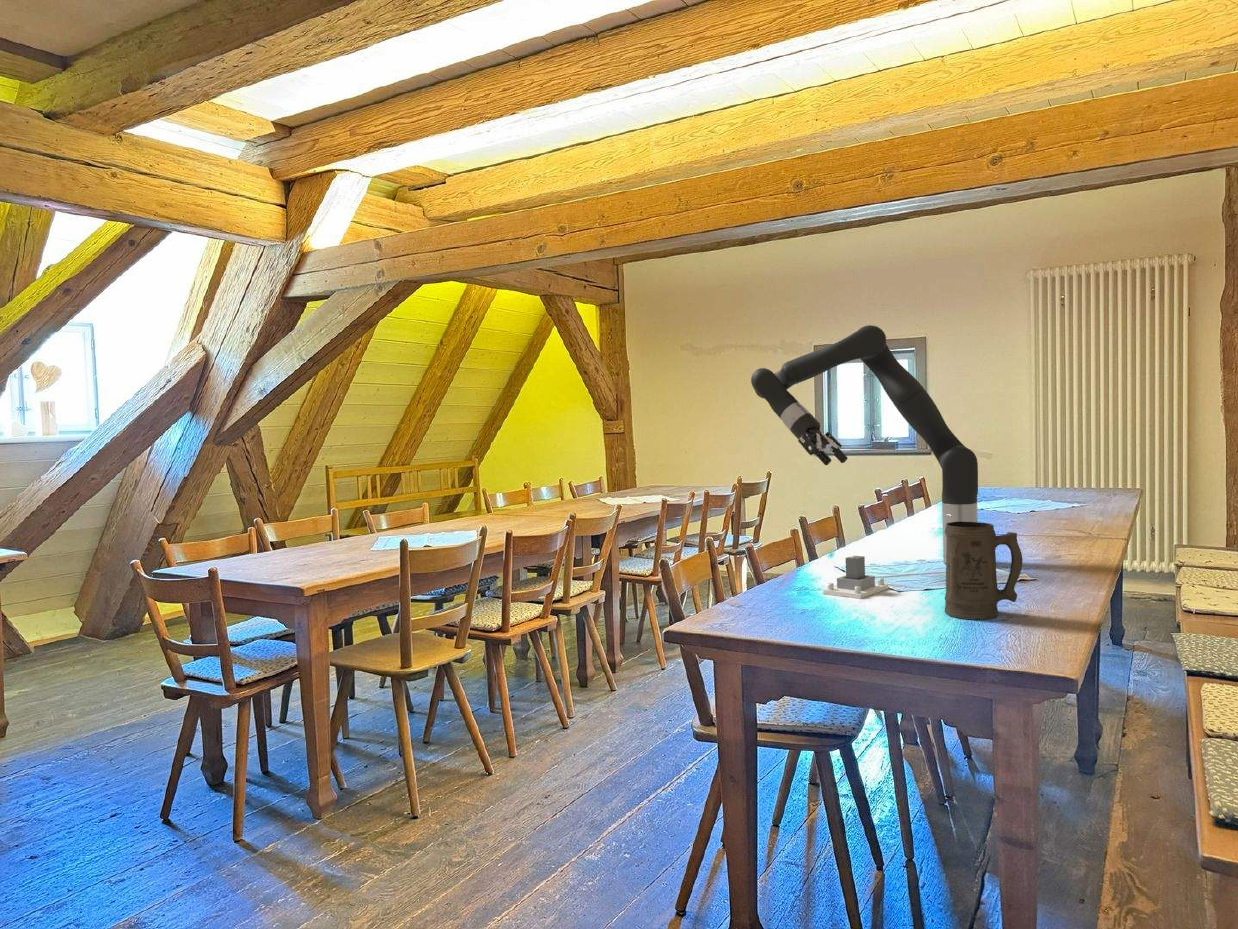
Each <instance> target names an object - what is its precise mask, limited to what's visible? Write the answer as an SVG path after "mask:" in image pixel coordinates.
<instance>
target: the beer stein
mask: <svg viewBox="0 0 1238 929" xmlns="http://www.w3.org/2000/svg"><path fill="white" fill-rule="evenodd" d="M945 534H946V537H947V542H946V564H945V595H944V600H945V602H944V603H945V605H944V613H945V615H948V616H950V617H953V618H957V619H961V620H973V619H980V620H989V619H991V620H992V619H995V618H997V617H998V615H999V610H998V603H999V602H1000V601H1003V600H1008V601H1010V602H1013V603H1015V602H1016V600H1017V598H1018V594H1017V592H1016V591H1015V587H1016V584H1017V581H1018V579H1020V578H1019V577H1020V575H1021V572H1022V570H1023V553H1022V550H1021V548H1020V545H1019V543H1018V533H1017V532H1011V531H1010V532H1009V531H1008V532H1006V534H1000V535H996V534H997V533H996V530H995V526H994V524H992V523H987V522H959V521H958V522H950V523H947V524H946V528H945ZM1000 545H1001V546H1003V545H1004V546H1007V548H1008V549H1009V550H1010V554H1011V555H1010V556H1011V558H1010V560H1011V562H1010V569H1009V575H1008V577H1007V581H1006V584H1005V586H1004V587H1003V589H999V588H998V579H997V578H998V577H997V556H996V549H997V547H998V546H1000Z"/></svg>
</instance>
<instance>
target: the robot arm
mask: <svg viewBox="0 0 1238 929" xmlns="http://www.w3.org/2000/svg"><path fill="white" fill-rule="evenodd" d="M859 359H860V360H861V361H862V362H863V363H864V365H866V367H867V368H868V369H869V370H870V371H871V372H872V374H873V375H874V376H875V377H876V378H877V380H878V381H879V383H880V385H881V386H882V389H883V391H884V392H885V393H886V395H887V397H889V399H890V401H891V402H892V404H893V405H894V407H895V408H896V410H897V411H898V412H899V413H900V415H901V416H902V418H903V419H905V421H906V422H907V424H908V425H909V426H910V427H911V428H912V429H913V430H914V432H916V433H917V435H919V437H921V438H922V439H923V440H924V442H925V443H926V444H927V446H928V447H929V449H930V450H931V452H932V453H933V455H934V457H935V459H936V461H937V462H938V464H939V466H940V468H941V474H942V476H941V477H942V478H941V479H942V483H941V484H942V488H941V489H942V490H941V491H942V492H941V516H942V517H941V519H942V556H943V557H942V558H943V563H944V564H945V563H946V542H947V537H946V534H945V528H946V524H947V523H950V522H958V521H959V522H978V516H979V515H978V494H979V466H978V458H977V456H976V454H975V452H974V451H973V450H972V449H970V448H968V447H967V446H965V445H964V443H962V442H961V441H960V440H959V439H958V437H957V436H956V435H955V434H954V432H952V430H951V429H950V428H949V426H948V425H947V423H946V422H945V419H944V417H943V415H942V412H940V410H939V408H938V406H937V405H936V403H935V401H934V400H933V398H932V397H931V396H930V394H929V393H928V391H927V390H926V389H925V387H924V386H923V385H922V384H921V382H919V381H918V379H917V378H916V377H914V375H912V374H911V373H910V372H909V371H908V370H907V369H906V368H905V367H904V366H902V365H901V363H899V361H898V360H897V358H896V357H895V356H894V354H893V352H892V351H891V349H890V348H889V346H888V345H887V336H886V334H885V331H883V330H882V328H880V326H879V327H878V326H876V325H871V324H869V325H864V326H862V327H860V328H858V329H857V330H856V331H854V332H853V333H851V334H850V335H847V336H846V337H845V338H843V339H841V340H839V341H837V342H835V343H832V344H831V345H827V346H825V347H823V348H820V349H816V350H815V351H812V352H809V353H806V354H804V355H801V356H798V357H796V358H793V359H791V360H789V361H786V362H785V363H783V364H782V365H781V369H780V370H778V371H776V372H773V371H772V370H771V369H769V368H765V367H762V368H761V367H760V368H757V369H756V370H754V371H753V373H752V374H751V377H750V383H751V386H752V388H753V390H754V392H755V394H756V395H757V396H758V397H759V398H761V399H764V400H765V401H766V402H767V403H768V405H769V407H770V408H771V410H772V411H773V412H774V413H775V415H776V416H778V418H779V419H780V420H781V421H782V423H783V424H784V425H785V427H786V428H787V429H788V431H790V432H791V434H793V436H794V437H796V439H797V441H798V443H799V444H800V446H802V448H803V449H804V450H805V451H806V453H807V454H808V455H809V456H814V457H815V458H816V457H817V458H818V459H819V461H821V463H823V465H825V466H828V465H829V464H830V463H831V462H832V458H831V457H830V456H829V455H828V454H827V453H826V452H830V454H833V456H835V458H836V459H837V460H838V461H839V462H840V463H841V464H844V463H846V462H847V460H848V456H847V455H846V454H845V452H843V451H842V450H841V448H842V447H843V446H842V444H841V443H840V442H839V441H838V440H837V439H836V437H834V436H833V435H832V434H831V432H828V431H826V432H825V433H823V432H822V431H821V429H820V428H821V422H819V421H818V420H817V418H815V416H814V415H813V414H812V412H810V411H809V410H808V409H807V408H806V407H805V406H804V405H802V404H801V403H800V401H798V400H797V399H796V398H795V396H794V395H793V394H791V392H789V391H788V389H790V388H791V387H793V386H794V385H798V384H799V383H802V382H805V381H807V380H810V379H813V378H815V377H817V376H819V375H821V374H823V373H826V372H827V371H829V370H831V369H833V368H835V367H838V366H839V365H843V364H845V363H848V362H851V361H852V362H853V361H855V360H859Z"/></svg>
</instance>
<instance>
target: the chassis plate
mask: <svg viewBox="0 0 1238 929" xmlns="http://www.w3.org/2000/svg"><path fill="white" fill-rule="evenodd" d="M875 577H876V576H875V575H866V574H865V578H864V579H861V580H854V579H846V574H845V575H843V576H840V577H836V585H834V583H833V582H828V583H827V588H825V589H823V590H822V591H823V595H830V596H835V595H837V596H838V595H839V596H838V597H843V596H846V597H845V598H850V597H851V599H859V600H860V599H863V598H866V597H868V596H871V595H872V596H873V595H874V594H878V593H879V592H880V593H881V592H883V591H885V590H888V589H889V586H890V585H889V584H888V583H885V578H883V577H880V578H877V582H876V578H875ZM837 596H836V597H837Z"/></svg>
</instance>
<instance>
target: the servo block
mask: <svg viewBox="0 0 1238 929" xmlns="http://www.w3.org/2000/svg"><path fill="white" fill-rule="evenodd" d="M865 560H866V558H865V556H864V555H863V556H862V555H853V554H852V555H850V556H847V557H845V575H846V579H854V580H861V579H864V578H865V575H866V561H865Z"/></svg>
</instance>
